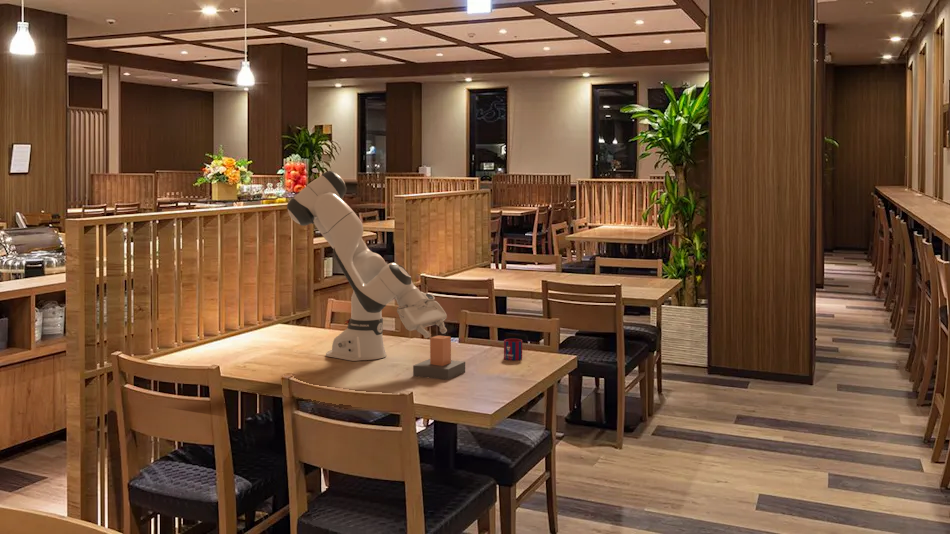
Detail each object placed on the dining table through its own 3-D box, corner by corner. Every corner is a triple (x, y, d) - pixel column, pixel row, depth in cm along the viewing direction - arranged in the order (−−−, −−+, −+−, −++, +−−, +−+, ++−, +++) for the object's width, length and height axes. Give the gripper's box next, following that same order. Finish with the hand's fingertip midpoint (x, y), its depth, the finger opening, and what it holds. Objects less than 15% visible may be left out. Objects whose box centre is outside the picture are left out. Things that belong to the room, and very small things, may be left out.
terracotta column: (430, 364, 291) (430, 337, 290) (438, 361, 295) (438, 335, 295) (442, 365, 289) (442, 339, 288) (450, 363, 293) (450, 336, 292)
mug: (500, 359, 316) (500, 340, 315) (514, 354, 324) (514, 336, 324) (516, 361, 312) (516, 342, 312) (530, 356, 321) (530, 338, 320)
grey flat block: (413, 377, 289) (413, 365, 289) (431, 369, 301) (431, 358, 301) (448, 381, 284) (448, 369, 283) (465, 373, 296) (465, 361, 295)
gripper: (399, 301, 287) (424, 333, 283) (435, 294, 304) (459, 324, 300) (389, 313, 290) (413, 345, 286) (425, 305, 307) (448, 335, 303)
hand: (436, 334), depth 293 cm, fingers open, 8 cm apart
